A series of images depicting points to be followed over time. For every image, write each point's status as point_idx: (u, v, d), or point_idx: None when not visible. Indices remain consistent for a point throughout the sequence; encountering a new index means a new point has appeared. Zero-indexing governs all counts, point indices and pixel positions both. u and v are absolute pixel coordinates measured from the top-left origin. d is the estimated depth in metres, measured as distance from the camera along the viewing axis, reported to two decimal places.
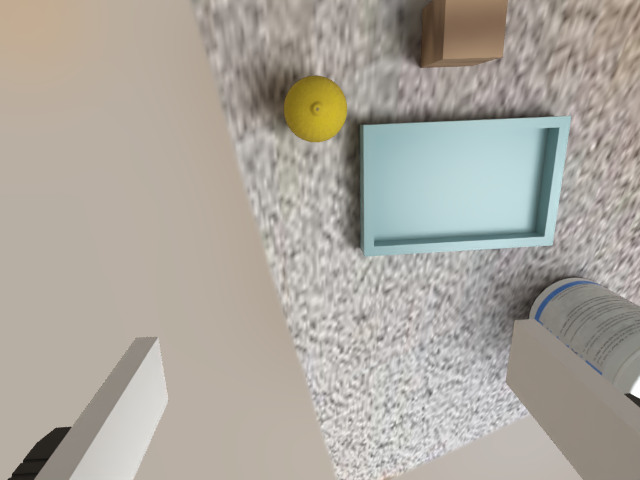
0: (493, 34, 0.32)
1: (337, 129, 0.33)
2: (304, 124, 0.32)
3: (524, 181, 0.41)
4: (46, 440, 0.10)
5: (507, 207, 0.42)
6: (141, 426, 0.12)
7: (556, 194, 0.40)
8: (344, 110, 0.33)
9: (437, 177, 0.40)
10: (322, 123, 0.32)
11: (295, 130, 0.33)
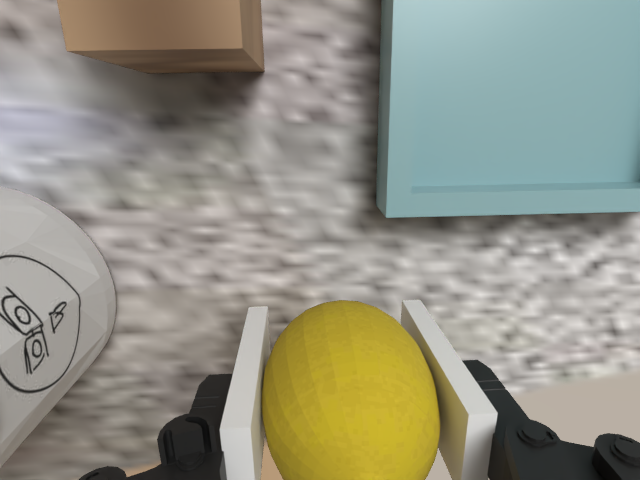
0: None
1: (418, 383, 0.11)
2: None
3: None
4: (205, 383, 0.12)
5: None
6: None
7: None
8: (364, 370, 0.10)
9: (520, 14, 0.16)
10: (408, 470, 0.10)
11: None
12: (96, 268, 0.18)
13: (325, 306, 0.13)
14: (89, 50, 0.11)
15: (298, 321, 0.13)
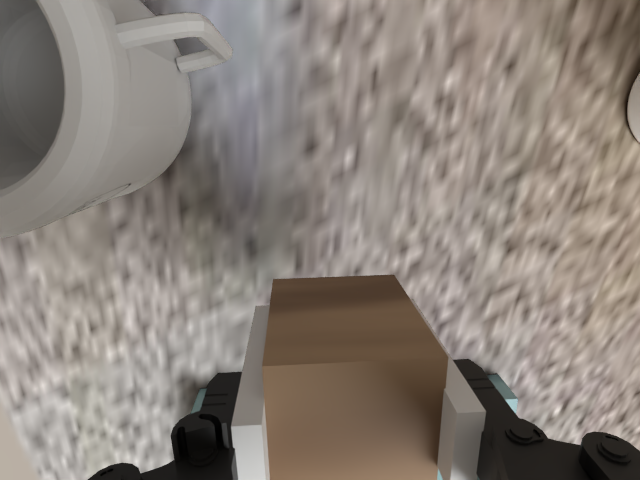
0: (408, 456, 0.11)
1: None
2: None
3: None
4: (214, 381, 0.12)
5: None
6: None
7: None
8: None
9: None
10: None
11: None
12: (123, 194, 0.21)
13: None
14: (263, 385, 0.11)
15: None
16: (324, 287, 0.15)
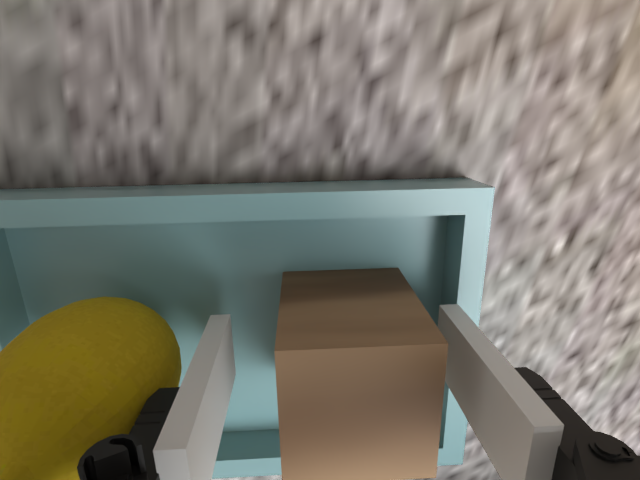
0: (410, 437, 0.12)
1: (98, 376, 0.11)
2: None
3: None
4: (154, 397, 0.12)
5: None
6: (224, 391, 0.14)
7: None
8: (36, 362, 0.11)
9: (190, 312, 0.17)
10: (55, 458, 0.10)
11: None
12: None
13: (76, 302, 0.14)
14: (275, 369, 0.11)
15: (46, 315, 0.13)
16: (331, 279, 0.16)
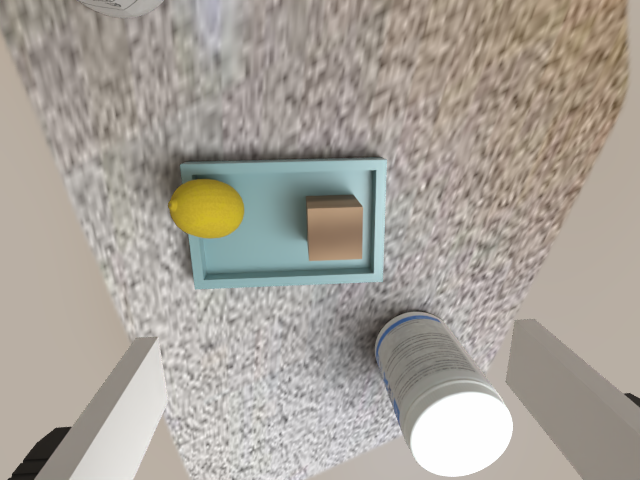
0: (352, 242, 0.36)
1: (198, 182, 0.35)
2: (188, 213, 0.34)
3: None
4: (45, 440, 0.10)
5: None
6: (141, 426, 0.12)
7: (380, 233, 0.41)
8: (187, 182, 0.36)
9: (267, 213, 0.41)
10: (182, 197, 0.34)
11: (204, 220, 0.34)
12: (137, 13, 0.35)
13: None
14: (307, 215, 0.35)
15: None
16: (325, 197, 0.40)
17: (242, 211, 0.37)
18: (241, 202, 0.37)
